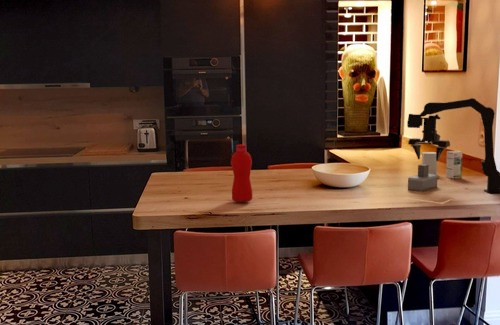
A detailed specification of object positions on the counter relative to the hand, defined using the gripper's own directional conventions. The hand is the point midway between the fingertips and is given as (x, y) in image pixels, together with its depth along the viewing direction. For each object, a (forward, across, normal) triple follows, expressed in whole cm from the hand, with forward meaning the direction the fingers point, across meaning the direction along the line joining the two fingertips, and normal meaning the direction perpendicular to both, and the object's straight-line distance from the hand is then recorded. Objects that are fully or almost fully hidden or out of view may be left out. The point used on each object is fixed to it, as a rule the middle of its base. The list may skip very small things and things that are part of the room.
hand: (428, 160), depth 253 cm
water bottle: (+15, +53, +77) cm, 95 cm away
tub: (+14, 0, +4) cm, 14 cm away
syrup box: (+14, 0, -35) cm, 37 cm away
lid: (+8, +1, +4) cm, 9 cm away
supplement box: (+14, +14, -35) cm, 40 cm away
